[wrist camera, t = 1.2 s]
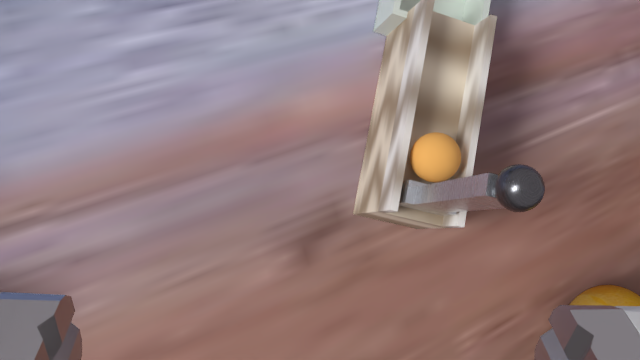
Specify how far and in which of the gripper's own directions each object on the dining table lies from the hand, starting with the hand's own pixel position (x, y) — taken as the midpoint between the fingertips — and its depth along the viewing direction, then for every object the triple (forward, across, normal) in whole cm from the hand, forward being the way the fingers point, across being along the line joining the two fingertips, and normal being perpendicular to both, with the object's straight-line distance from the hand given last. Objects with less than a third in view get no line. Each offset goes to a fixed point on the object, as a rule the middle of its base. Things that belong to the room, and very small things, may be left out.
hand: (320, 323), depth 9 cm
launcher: (+39, -12, +18) cm, 44 cm away
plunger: (+29, -11, +19) cm, 37 cm away
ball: (+30, -12, +16) cm, 36 cm away
